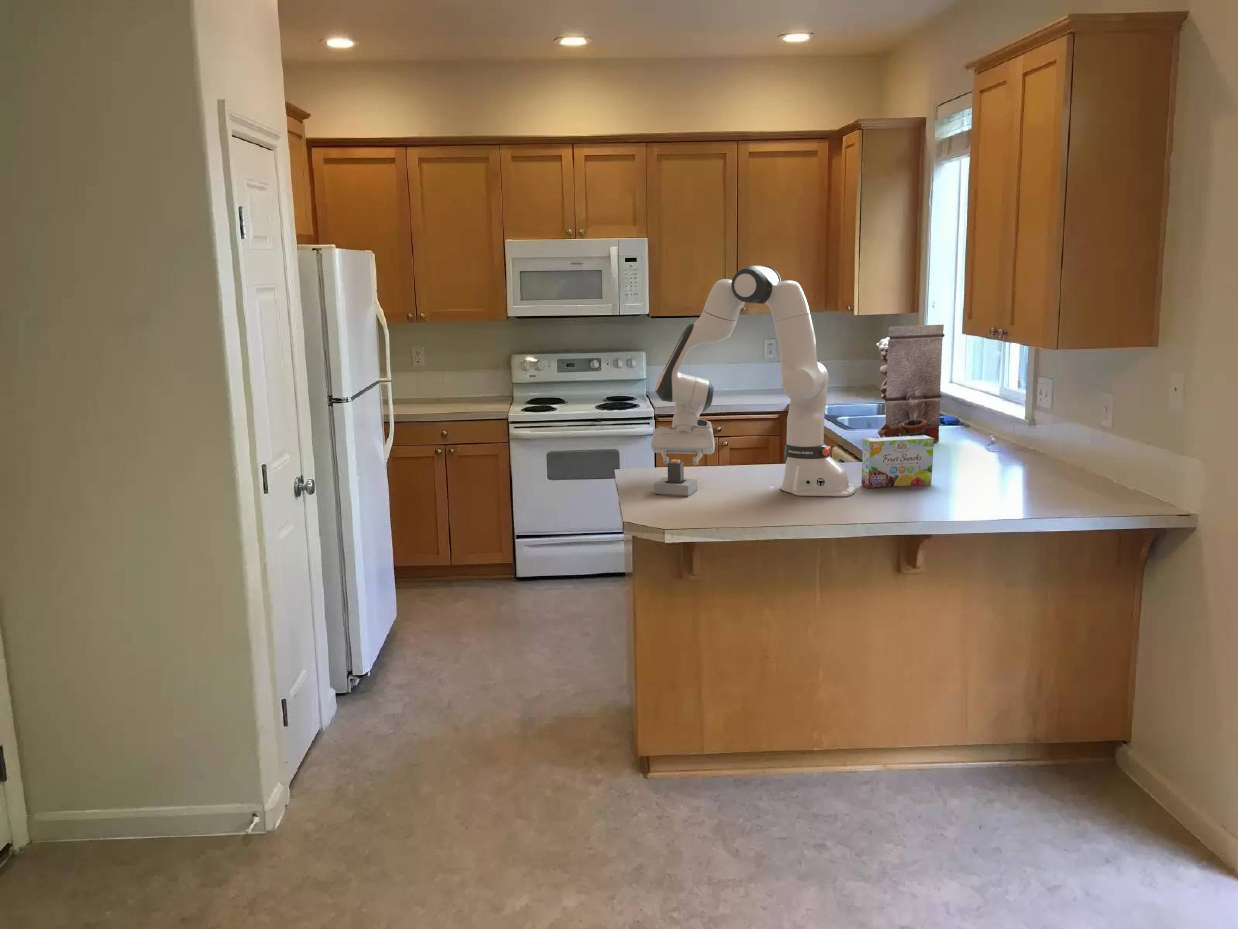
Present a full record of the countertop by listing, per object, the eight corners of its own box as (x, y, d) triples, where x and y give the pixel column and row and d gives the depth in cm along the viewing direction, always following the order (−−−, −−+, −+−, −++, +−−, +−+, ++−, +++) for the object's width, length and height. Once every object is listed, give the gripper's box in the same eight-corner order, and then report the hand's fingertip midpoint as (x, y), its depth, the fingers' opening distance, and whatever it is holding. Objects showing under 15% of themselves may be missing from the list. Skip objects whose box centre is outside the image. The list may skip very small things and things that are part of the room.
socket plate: (697, 490, 292) (697, 479, 291) (688, 497, 284) (688, 485, 283) (663, 488, 296) (663, 477, 296) (653, 494, 288) (653, 483, 287)
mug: (896, 469, 317) (898, 425, 314) (873, 463, 327) (874, 420, 324) (936, 463, 325) (938, 420, 322) (911, 457, 335) (913, 416, 332)
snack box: (868, 489, 289) (870, 440, 286) (860, 485, 294) (862, 437, 291) (932, 484, 293) (934, 437, 290) (923, 481, 298) (925, 434, 295)
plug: (683, 489, 291) (683, 459, 289) (680, 492, 287) (680, 461, 286) (671, 489, 292) (670, 458, 291) (667, 492, 289) (667, 461, 287)
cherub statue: (912, 435, 379) (917, 322, 371) (939, 442, 362) (945, 324, 353) (861, 439, 374) (864, 324, 365) (886, 446, 356) (890, 326, 347)
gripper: (652, 421, 304) (646, 456, 297) (715, 422, 300) (711, 458, 292) (655, 432, 310) (649, 467, 302) (717, 433, 305) (713, 469, 297)
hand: (680, 463), depth 297 cm, fingers open, 8 cm apart
